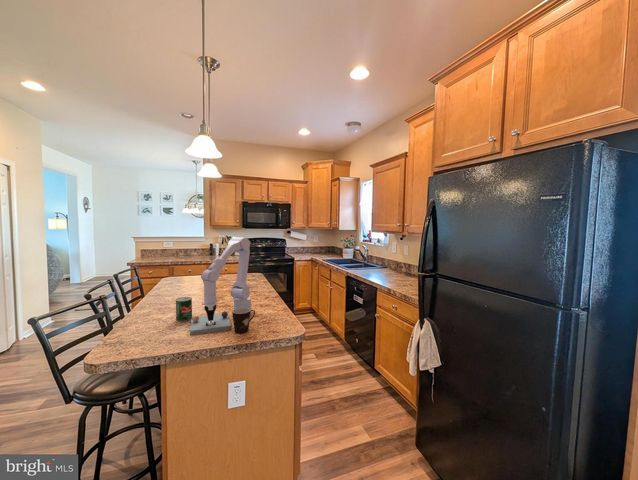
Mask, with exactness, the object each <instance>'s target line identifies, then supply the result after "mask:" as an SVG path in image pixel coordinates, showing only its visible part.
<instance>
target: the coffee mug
mask: <svg viewBox="0 0 638 480" xmlns="http://www.w3.org/2000/svg"><path fill="white" fill-rule="evenodd" d="M250 312H251V313H252V312H253V314H252V317H251V315H250ZM231 314H232V322H233V328H234V333H235V334H237V335H242V334H243V335H244V334H246V333H248V332H249V330H250V329H249V328H250V322H251V321H252V320H253V319H254V317H255V316H256V315H255V314H256V311H255V310H254V309H252V308H251V309H249V308H238V309H235V310H234V309H233V310H232V311H231Z"/></svg>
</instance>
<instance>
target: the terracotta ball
mask: <svg viewBox="0 0 638 480" xmlns="http://www.w3.org/2000/svg"><path fill="white" fill-rule="evenodd" d="M192 317H193V318H192V319H191V321H192V320H193V321H194V322H197V321H198V320H199V316H198V315H196V314H195V315H192Z"/></svg>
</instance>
